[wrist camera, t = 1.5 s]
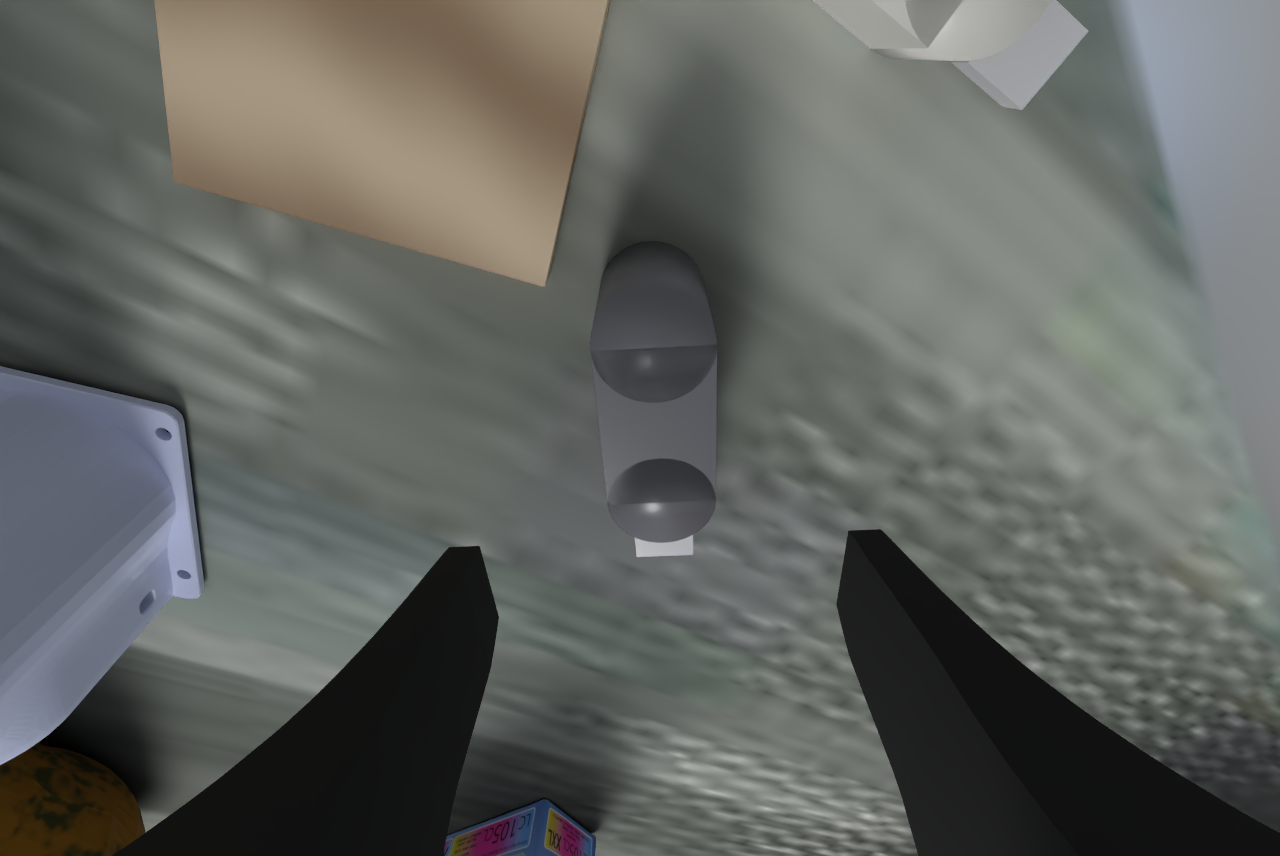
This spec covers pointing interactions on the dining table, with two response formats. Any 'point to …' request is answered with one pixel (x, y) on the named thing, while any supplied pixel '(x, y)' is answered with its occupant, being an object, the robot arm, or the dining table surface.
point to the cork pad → (388, 116)
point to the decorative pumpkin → (64, 806)
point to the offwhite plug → (970, 38)
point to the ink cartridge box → (524, 835)
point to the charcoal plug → (656, 396)
